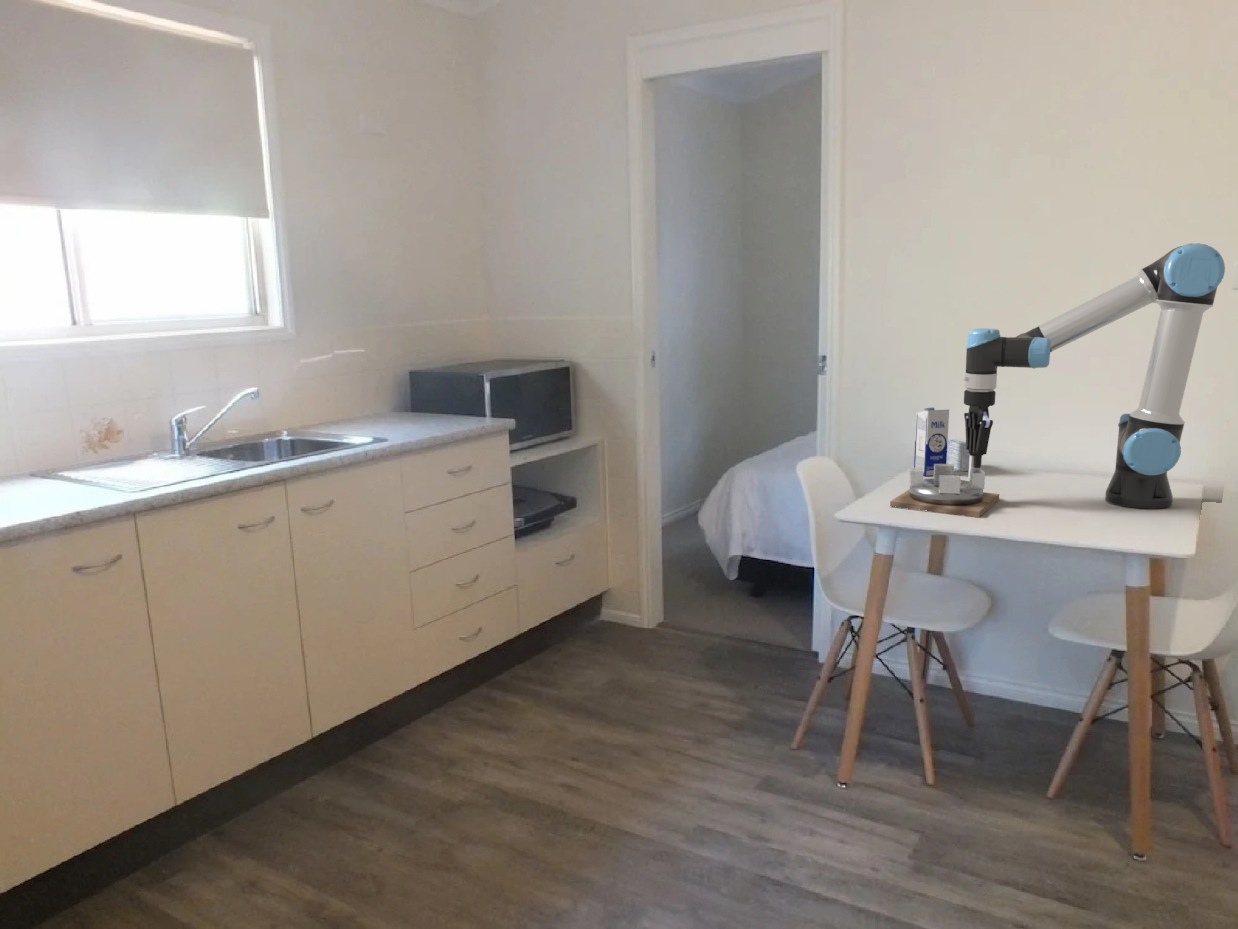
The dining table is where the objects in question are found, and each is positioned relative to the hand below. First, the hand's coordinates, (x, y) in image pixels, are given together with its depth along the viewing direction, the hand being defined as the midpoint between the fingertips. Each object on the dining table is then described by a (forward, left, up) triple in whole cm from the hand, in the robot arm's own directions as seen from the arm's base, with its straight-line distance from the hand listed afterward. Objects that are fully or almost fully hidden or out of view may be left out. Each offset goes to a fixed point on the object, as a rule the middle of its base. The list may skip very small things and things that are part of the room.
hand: (974, 479), depth 243 cm
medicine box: (+14, -41, -6) cm, 44 cm away
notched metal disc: (+6, +6, -4) cm, 9 cm away
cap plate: (+6, +6, -6) cm, 10 cm away
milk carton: (+20, -29, -6) cm, 36 cm away
